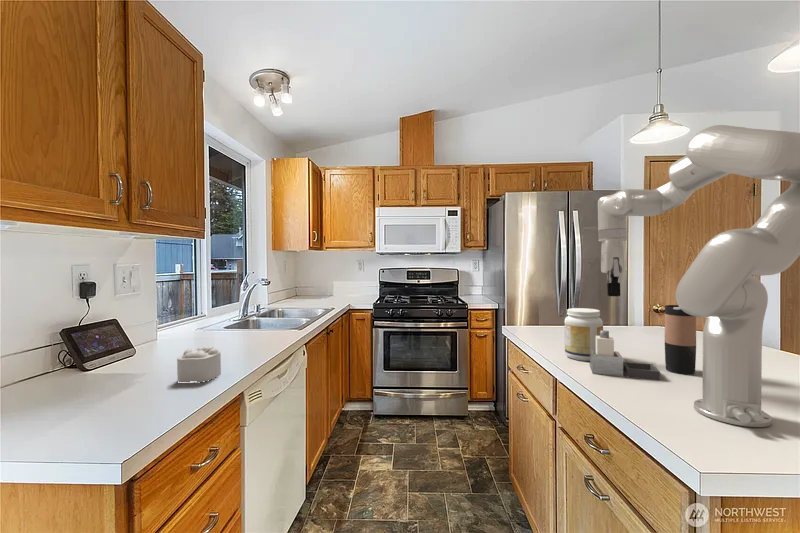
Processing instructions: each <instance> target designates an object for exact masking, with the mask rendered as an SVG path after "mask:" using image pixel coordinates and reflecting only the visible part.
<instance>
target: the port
mask: <svg viewBox="0 0 800 533" xmlns="http://www.w3.org/2000/svg"><path fill="white" fill-rule="evenodd" d="M623 361H624V357H623V356H622V354H621V353H620V352H619V351H615V350H614V357H612V356H600V355H598V354H596V350H591V349H590V361H589V367H590V370H591V374H593V375H594V374H595V375H603V376H604V375H605V376H610V377H611V376H613V377H614V376H615V377H622V378H623V377H624V372H623Z"/></svg>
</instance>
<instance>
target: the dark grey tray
mask: <svg viewBox="0 0 800 533" xmlns="http://www.w3.org/2000/svg"><path fill="white" fill-rule="evenodd" d="M623 374H624V375H625V376H626V378H633V379H644V380H653V381H661V372H660V370H659V369H658V368H657V367H656V366H655V365H654V363H648V362H647V363H646V362H645V363H644V362H633V361H624V360H623Z"/></svg>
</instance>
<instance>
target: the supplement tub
mask: <svg viewBox="0 0 800 533" xmlns="http://www.w3.org/2000/svg"><path fill="white" fill-rule="evenodd" d="M566 312H567V313H566V317H565V318H564V354H565V355H566V357H567V358H569V359H572V360H575V361H581V362H582V361H583V362H590V349H591V350H596V336H600V331H601V330H604V321H603V319H602V318H601V317H600V316H601V311H600V310H599V309H596V308H587V307H586V308H583V307H582V308H581V307H573V308H568V309H566Z"/></svg>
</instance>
